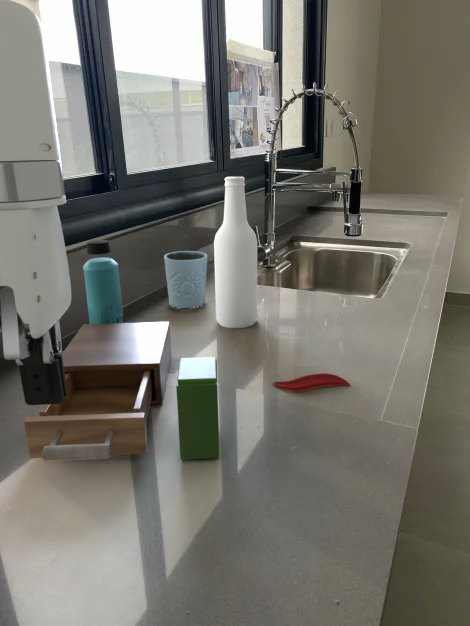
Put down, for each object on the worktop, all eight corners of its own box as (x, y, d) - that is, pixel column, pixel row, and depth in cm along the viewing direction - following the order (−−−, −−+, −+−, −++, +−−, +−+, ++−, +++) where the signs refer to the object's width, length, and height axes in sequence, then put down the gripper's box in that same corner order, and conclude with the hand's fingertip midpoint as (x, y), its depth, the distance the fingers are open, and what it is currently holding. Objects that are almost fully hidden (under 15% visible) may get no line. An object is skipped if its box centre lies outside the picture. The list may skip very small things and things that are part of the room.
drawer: (141, 478, 54) (138, 439, 53) (15, 483, 54) (8, 444, 52) (160, 389, 74) (158, 359, 73) (68, 393, 74) (64, 362, 72)
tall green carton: (180, 462, 59) (176, 382, 55) (183, 428, 66) (179, 355, 62) (219, 461, 59) (217, 381, 55) (218, 427, 66) (216, 354, 63)
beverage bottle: (122, 351, 92) (112, 243, 85) (86, 351, 92) (74, 244, 85) (130, 338, 98) (121, 237, 92) (96, 338, 98) (85, 237, 92)
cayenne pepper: (271, 390, 76) (271, 378, 75) (273, 377, 80) (274, 366, 80) (351, 395, 74) (352, 383, 73) (349, 381, 78) (350, 370, 78)
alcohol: (248, 331, 101) (247, 178, 91) (209, 326, 104) (204, 178, 94) (262, 318, 108) (263, 176, 99) (225, 313, 112) (222, 175, 102)
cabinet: (162, 406, 72) (159, 363, 69) (58, 410, 71) (52, 366, 69) (171, 357, 88) (169, 321, 86) (87, 360, 88) (83, 324, 86)
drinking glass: (186, 296, 126) (183, 249, 122) (217, 302, 120) (216, 253, 116) (157, 306, 118) (154, 256, 114) (190, 313, 112) (187, 261, 109)
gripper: (2, 182, 45) (32, 367, 51) (-94, 196, 31) (-36, 450, 37) (85, 180, 45) (106, 364, 51) (28, 192, 31) (66, 445, 37)
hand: (47, 399), depth 44 cm, fingers closed
